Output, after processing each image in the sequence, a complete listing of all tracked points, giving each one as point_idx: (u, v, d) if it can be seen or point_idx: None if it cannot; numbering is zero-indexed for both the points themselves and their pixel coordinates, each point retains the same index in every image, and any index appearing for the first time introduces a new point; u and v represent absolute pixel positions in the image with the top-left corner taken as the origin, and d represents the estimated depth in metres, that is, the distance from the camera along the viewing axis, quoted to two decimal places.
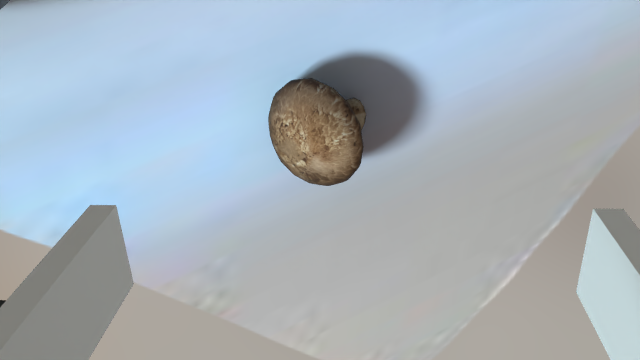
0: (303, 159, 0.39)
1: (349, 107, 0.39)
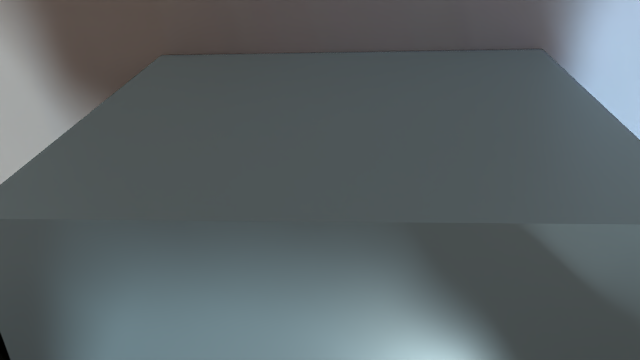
0: None
1: None
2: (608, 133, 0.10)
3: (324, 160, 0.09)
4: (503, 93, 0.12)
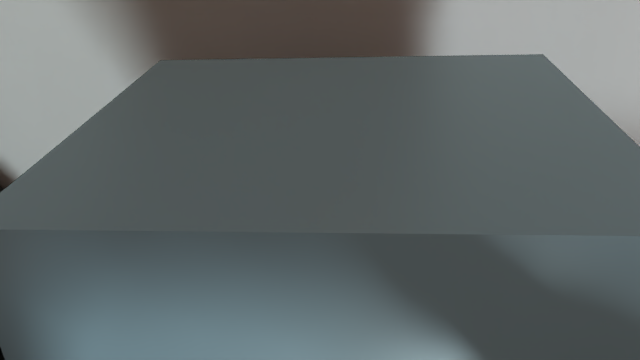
0: None
1: None
2: (609, 141, 0.10)
3: (324, 169, 0.09)
4: (503, 99, 0.12)
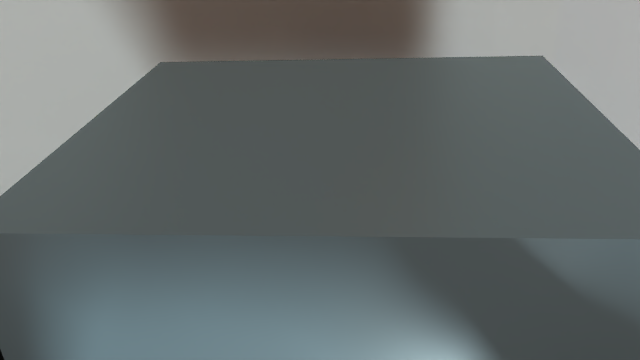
0: None
1: None
2: (608, 143, 0.10)
3: (323, 172, 0.09)
4: (503, 101, 0.12)
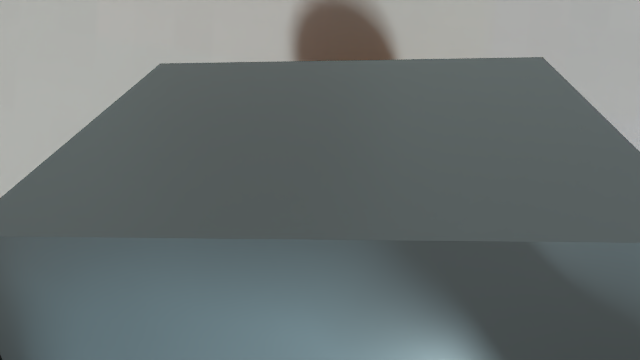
0: None
1: None
2: (609, 146, 0.10)
3: (323, 174, 0.09)
4: (503, 103, 0.12)
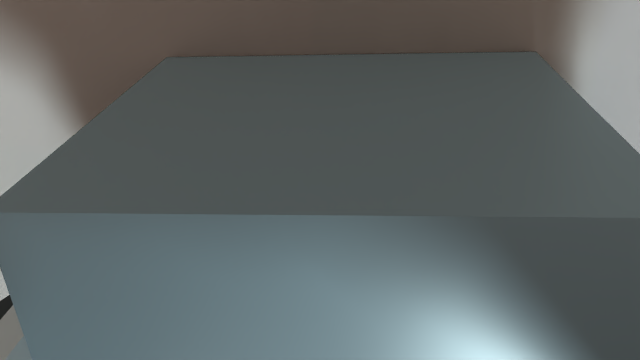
0: None
1: None
2: (594, 132, 0.10)
3: (324, 158, 0.10)
4: (496, 94, 0.12)
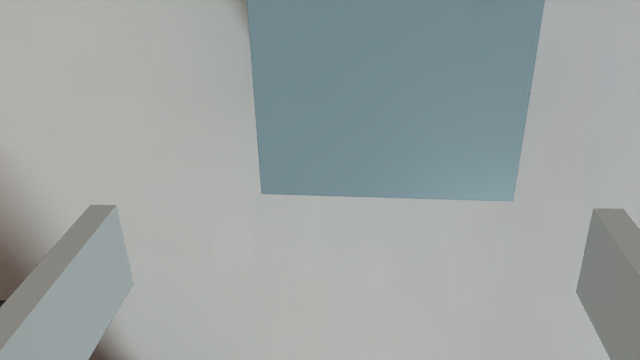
0: None
1: None
2: None
3: None
4: None
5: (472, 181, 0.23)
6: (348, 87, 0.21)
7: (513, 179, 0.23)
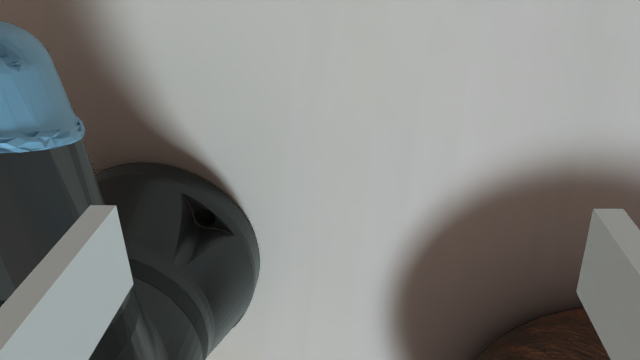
0: None
1: None
2: None
3: None
4: None
5: None
6: None
7: None
